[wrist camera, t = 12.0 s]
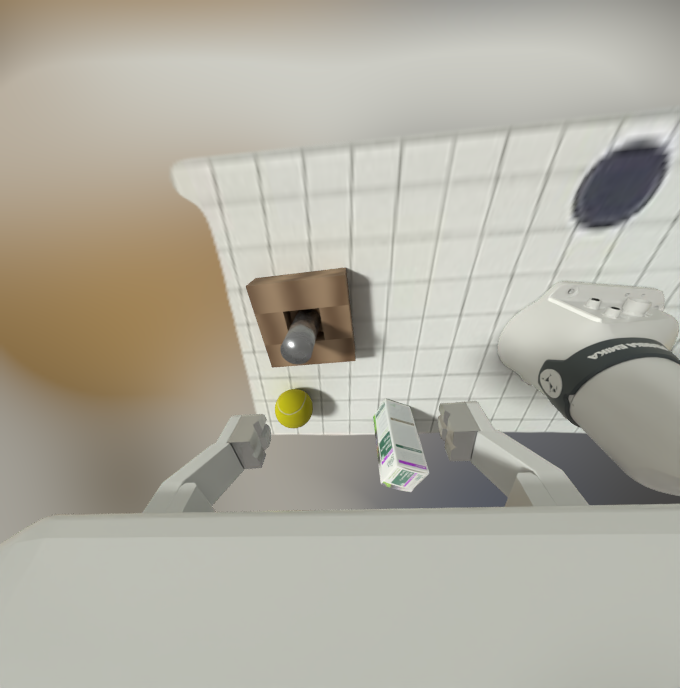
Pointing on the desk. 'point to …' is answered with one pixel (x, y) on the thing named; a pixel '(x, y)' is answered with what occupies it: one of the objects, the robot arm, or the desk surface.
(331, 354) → the socket block
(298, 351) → the pin
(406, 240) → the desk surface
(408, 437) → the syrup box
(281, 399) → the tennis ball
